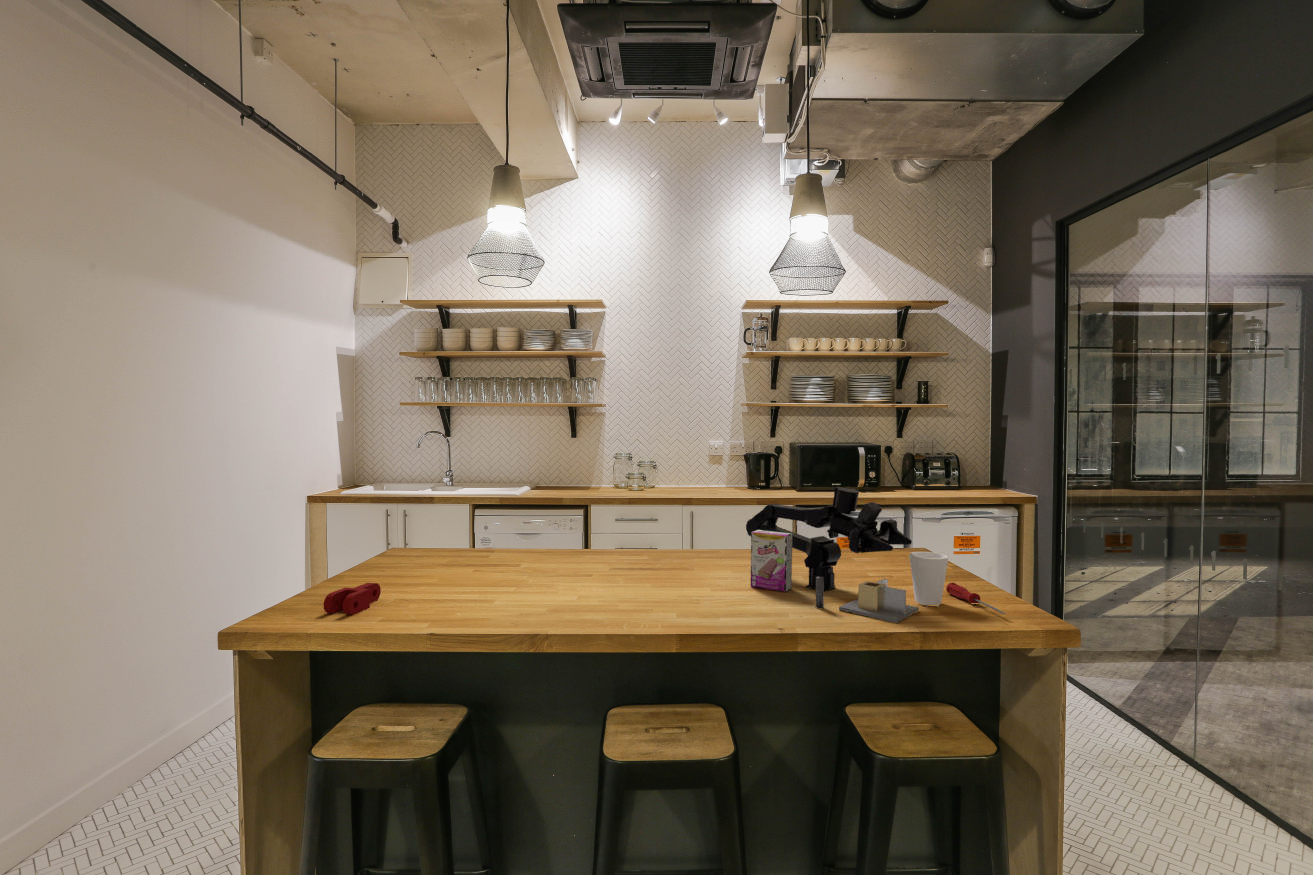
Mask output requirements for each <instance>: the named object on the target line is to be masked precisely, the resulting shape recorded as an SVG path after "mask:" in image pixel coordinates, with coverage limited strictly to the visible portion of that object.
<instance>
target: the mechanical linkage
mask: <svg viewBox="0 0 1313 875" xmlns="http://www.w3.org/2000/svg"><path fill="white" fill-rule="evenodd" d="M381 592H382V589H381V585H380V584H379V583H377V582H366V583H364V584H363V583H362V584H360V585H358V586H355V587H343V588H341V589H337V590H334V591H331V592H329V593H328V594H327V595H326V596H325V598H324V600H323V605H322V606H323V610H324V612H325V613H327V614H336V612H337V613H339V612H341V610H342V611H343V613H344V614H345V615H351V616H355V615H356V614H359V613H362V612H363V610H364V611H366V610H369V609H370V608H371V604H372V603H374V601H375V602H377V601H378V600H380V596H381ZM354 614H355V615H354Z"/></svg>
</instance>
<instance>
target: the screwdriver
mask: <svg viewBox="0 0 1313 875" xmlns="http://www.w3.org/2000/svg"><path fill="white" fill-rule="evenodd" d="M946 592H947V593H948V594H949V593H950V594H952V596H953V595H954V596H953V597H955V596H956V598H957V597H958V598H957V599H959V598H962V599H961V600H964V599H965V600H964V601H968V603H969V604H970V603H979V604H981V605H983V606H986V607H988V608H990V609H992V610H994V611H996V612H998V613H1001V614H1003V615H1006V614H1007V613H1006V612H1004V611H1002V610H1000V609H998V608H996V607H994V606H992V605H990V604H988V603H985V602H983V601H982V600H981V597H980V595H979V594H978V593H976V592H973V593H972V592H971V591H969V589H967V588H966V587H964V586H962V585H959V584H957V583H955V582H949V583H948V584H947V585H946ZM950 594H949V595H950Z"/></svg>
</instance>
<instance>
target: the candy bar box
mask: <svg viewBox="0 0 1313 875" xmlns="http://www.w3.org/2000/svg"><path fill="white" fill-rule="evenodd" d="M750 539H751V540H750V542H751V543H750V588H755V589H756V588H757V589H762V590H768V589H769V590H770V591H774V590H776V591H775V592H781V591H783V592H782V593H787V592H789V591H790V590H792V585H793V584H792V583H793V582H792V578H793V575H792V573H793V569H792V568H793V548H792V534H790V533H782V532H773V531H764V530H756V531H753V532H751V536H750ZM789 589H790V590H789ZM769 590H768V591H769ZM788 590H789V591H788ZM786 591H787V592H786Z"/></svg>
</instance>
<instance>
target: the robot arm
mask: <svg viewBox="0 0 1313 875" xmlns="http://www.w3.org/2000/svg"><path fill="white" fill-rule="evenodd" d="M859 494H860V491H859V490H857V489H856V488H848V487H847V488H846V487H841V486H836V487H834V491H833V495H834V496H833V501H832V505H826V506H823V507H822V506H821V507H813V508H811V507H810V508H808V507H807V508H806V507H801V506H792V505H791V506H790V505H786V504H785V505H784V504H779V503H771V504H767V505H766V506H764V507H763V509H762V510H760V511H759V512H758V513H756V514H755V515H754V516H752V518H750V519H747V521H746V525H745V530H746V533H747V536H749V537H751V532H753V531H756V530H764V531H773V532H782V533H790V534H792V549H795V550H798V551H801V552H803V553H805V554H806V555H807V556H806V558H804V559H803V562H804V565H805V567H806V568H808V584H806V585H805V588H808V587H811V588H810V589H813V588H816V576H822V577H824V590H827V591H829V590H831V589H830V588H832V589H834V588H833V587H835V586H836V585H835V572H834V567H835V566H837V564H838V561H839V560H840V559H841V555H842V549H841V547H840V544H839V543H837V542H836V541H835V539H833V538H838V537H839V535H842V536H844V537H846V538H847V540H848V541H849V542H848V548H849V550H850V552H852V553H854V554H863V553H874V552H876V553H879V552H892V551H893V549H894V546H893V545H900V546H901V545H906V546H907V545H909V546H911V545H912V544H913V542H912V539H911V538H909V537H907V535H905V534H904V533H902V532H901V531H900V530H899V529H898V521H897V520H894V519H891V518H889V519H886V520H883V521H882V522H880V524H879V522H878V521H877V519H878V517H879V515H880V513H881V512H882V510H883V509H882V506H881V504H880V503H876V502H873V501H871V502H867V503H864V504H863V506H862V507H861V510H860V512H859V513H858V515H857V518H856V517H854V516H853V517H852V516H850V515H852V512H853V513H854V512H856V510H857V505H858V500H859V499H858V498H859ZM779 519H785V520H791V521H798V522H802V523H805V524H806V525H807V526H810V527H812V528H815V529H822V528H828V527H829V529H827V530H826V532H827V534H828V537H826V536H824V535H821V536H814V537H811V538H810V537H807V536H804V535H802V534H799V533H796V532H793V531H791V530H787V529H785V528H782V527H780V526H778V525H777V523H778V520H779ZM878 524H879V529H878V527H877V526H878ZM835 588H836V587H835ZM828 589H829V590H828Z"/></svg>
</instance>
